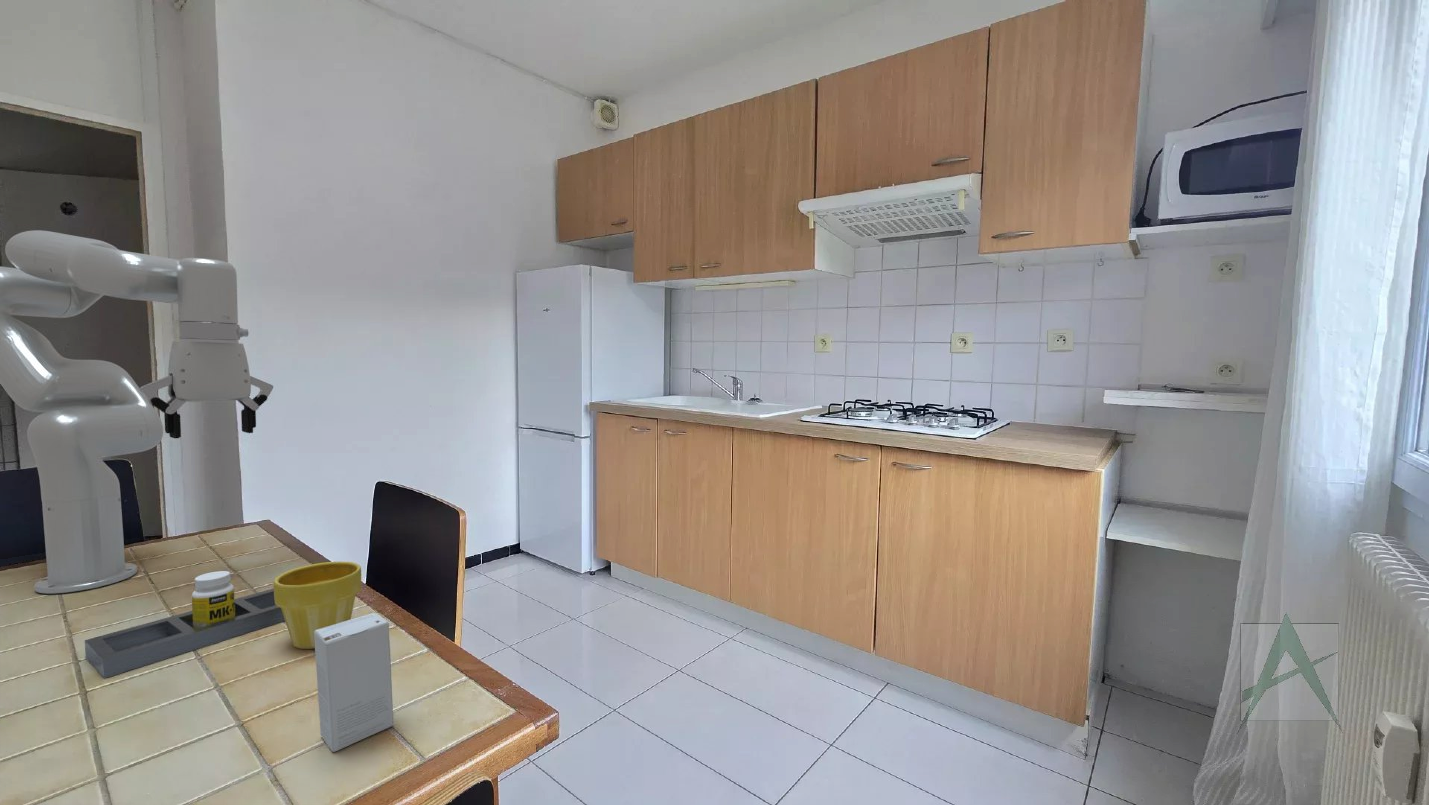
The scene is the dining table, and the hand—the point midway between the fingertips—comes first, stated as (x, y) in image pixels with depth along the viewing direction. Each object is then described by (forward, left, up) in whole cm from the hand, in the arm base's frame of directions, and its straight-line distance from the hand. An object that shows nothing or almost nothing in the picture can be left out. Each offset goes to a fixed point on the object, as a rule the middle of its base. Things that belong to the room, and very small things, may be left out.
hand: (212, 434), depth 98 cm
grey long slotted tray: (+18, -6, -27) cm, 33 cm away
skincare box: (+60, -6, -28) cm, 67 cm away
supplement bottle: (+18, -6, -28) cm, 33 cm away
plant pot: (+33, +2, -28) cm, 43 cm away
